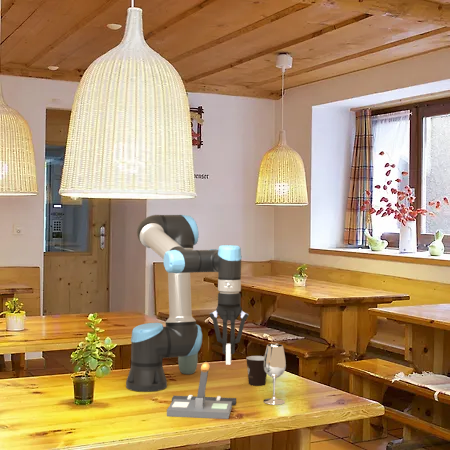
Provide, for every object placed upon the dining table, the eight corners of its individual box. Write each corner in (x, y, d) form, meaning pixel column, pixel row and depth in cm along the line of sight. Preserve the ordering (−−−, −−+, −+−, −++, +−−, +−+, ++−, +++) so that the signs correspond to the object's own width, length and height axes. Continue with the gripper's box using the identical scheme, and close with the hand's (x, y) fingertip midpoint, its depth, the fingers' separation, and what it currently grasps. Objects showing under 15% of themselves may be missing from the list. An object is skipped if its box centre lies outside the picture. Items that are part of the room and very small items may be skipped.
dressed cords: (171, 403, 259) (171, 397, 259) (173, 399, 264) (173, 394, 264) (235, 406, 257) (235, 400, 257) (236, 402, 262) (236, 396, 262)
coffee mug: (266, 387, 284) (267, 361, 284) (244, 385, 286) (244, 359, 286) (270, 380, 296) (271, 355, 295) (249, 379, 297) (249, 353, 297)
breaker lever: (195, 402, 248) (201, 363, 247) (196, 399, 252) (202, 361, 251) (203, 404, 247) (209, 365, 247) (204, 400, 251) (210, 362, 251)
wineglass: (289, 402, 264) (290, 345, 263) (275, 406, 258) (276, 348, 257) (272, 398, 269) (273, 342, 268) (258, 402, 263) (259, 345, 262)
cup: (195, 376, 301) (195, 351, 301) (176, 374, 302) (176, 350, 302) (198, 371, 309) (199, 347, 308) (180, 370, 310) (180, 346, 310)
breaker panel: (166, 416, 243) (167, 400, 243) (173, 404, 257) (173, 389, 257) (228, 418, 242) (228, 402, 242) (231, 407, 256) (232, 392, 255)
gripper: (208, 293, 244) (207, 365, 245) (248, 293, 243) (247, 366, 244) (210, 290, 252) (210, 360, 252) (249, 291, 251) (248, 362, 251)
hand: (228, 363), depth 248 cm, fingers closed
